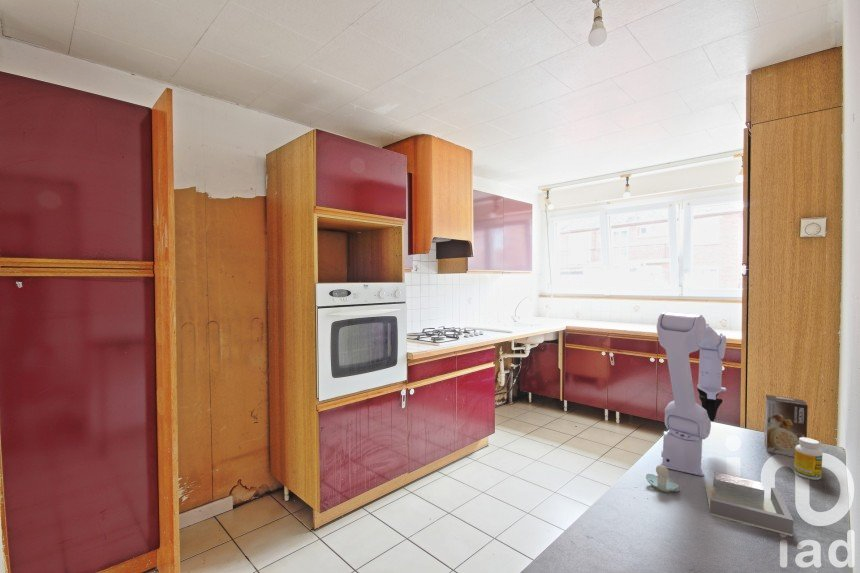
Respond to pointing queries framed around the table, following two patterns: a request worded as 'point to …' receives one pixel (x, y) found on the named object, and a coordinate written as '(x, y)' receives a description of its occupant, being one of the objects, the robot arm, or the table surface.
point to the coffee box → (784, 424)
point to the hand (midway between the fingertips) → (708, 416)
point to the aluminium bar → (738, 490)
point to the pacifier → (662, 480)
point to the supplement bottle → (808, 459)
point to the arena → (755, 512)
